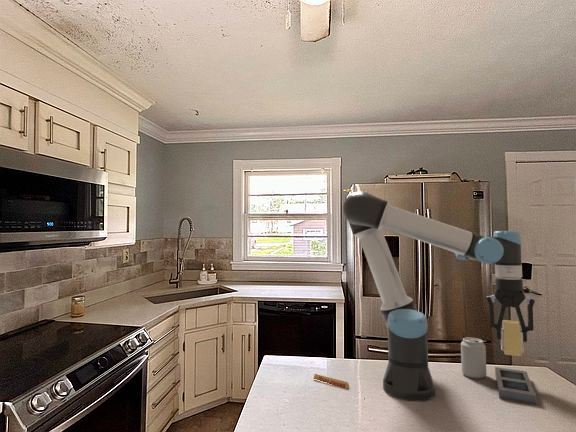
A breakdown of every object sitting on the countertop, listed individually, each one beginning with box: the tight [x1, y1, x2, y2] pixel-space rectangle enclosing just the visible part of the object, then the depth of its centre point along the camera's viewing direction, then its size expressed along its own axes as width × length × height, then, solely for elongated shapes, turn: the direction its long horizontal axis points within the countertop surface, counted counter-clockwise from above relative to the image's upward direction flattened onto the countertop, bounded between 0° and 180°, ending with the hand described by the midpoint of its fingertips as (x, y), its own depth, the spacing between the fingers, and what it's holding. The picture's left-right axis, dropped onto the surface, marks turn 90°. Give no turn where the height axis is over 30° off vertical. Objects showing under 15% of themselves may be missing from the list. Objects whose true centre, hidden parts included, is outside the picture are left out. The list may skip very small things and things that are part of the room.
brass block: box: [502, 319, 522, 357], centre depth 117 cm, size 4×4×10 cm
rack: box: [494, 366, 537, 406], centre depth 112 cm, size 9×20×2 cm, turn 153°
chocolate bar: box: [313, 373, 350, 390], centre depth 116 cm, size 3×12×2 cm, turn 55°
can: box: [460, 337, 487, 380], centre depth 123 cm, size 8×8×12 cm
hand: (512, 350), depth 117 cm, fingers closed on brass block, 4 cm apart
